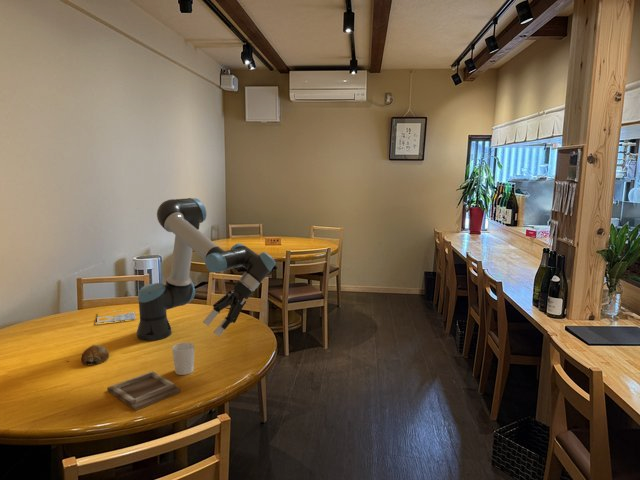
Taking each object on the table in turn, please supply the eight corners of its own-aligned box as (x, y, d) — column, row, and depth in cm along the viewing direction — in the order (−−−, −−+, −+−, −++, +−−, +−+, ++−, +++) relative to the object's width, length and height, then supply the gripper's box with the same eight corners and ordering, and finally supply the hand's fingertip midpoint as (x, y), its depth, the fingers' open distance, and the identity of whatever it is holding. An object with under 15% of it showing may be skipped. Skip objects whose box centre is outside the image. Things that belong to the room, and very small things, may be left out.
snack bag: (94, 326, 219) (94, 322, 218) (97, 314, 237) (97, 310, 237) (136, 321, 226) (135, 317, 225) (135, 310, 244) (135, 306, 244)
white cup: (189, 376, 164) (187, 351, 163) (169, 375, 166) (168, 349, 164) (198, 367, 172) (197, 343, 170) (180, 366, 173) (179, 341, 172)
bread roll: (111, 367, 180) (117, 347, 183) (92, 366, 171) (98, 345, 173) (93, 364, 184) (98, 344, 186) (73, 363, 174) (78, 342, 176)
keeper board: (107, 390, 154) (107, 384, 153) (150, 374, 166) (150, 368, 165) (135, 410, 141) (135, 403, 141) (180, 392, 153) (179, 385, 153)
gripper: (264, 299, 169) (228, 344, 163) (240, 285, 190) (207, 324, 184) (251, 287, 165) (213, 333, 160) (228, 274, 186) (194, 314, 181)
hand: (210, 329), depth 172 cm, fingers open, 13 cm apart
